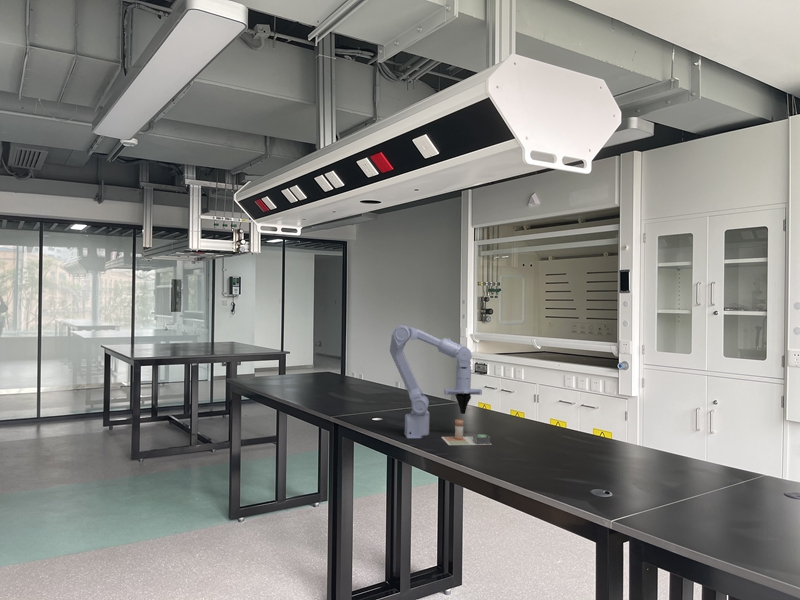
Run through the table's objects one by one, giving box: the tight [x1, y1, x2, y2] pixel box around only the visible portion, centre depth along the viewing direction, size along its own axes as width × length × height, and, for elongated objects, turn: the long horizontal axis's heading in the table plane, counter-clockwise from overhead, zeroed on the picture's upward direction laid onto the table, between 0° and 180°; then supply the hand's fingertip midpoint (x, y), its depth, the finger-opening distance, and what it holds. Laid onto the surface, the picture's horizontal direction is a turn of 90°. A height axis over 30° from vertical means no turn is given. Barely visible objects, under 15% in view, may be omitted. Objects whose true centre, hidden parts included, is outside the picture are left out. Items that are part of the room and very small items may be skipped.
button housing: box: [472, 434, 491, 444], centre depth 210 cm, size 5×5×2 cm
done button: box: [476, 433, 487, 437], centre depth 210 cm, size 3×3×2 cm
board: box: [441, 436, 493, 446], centre depth 213 cm, size 16×13×1 cm
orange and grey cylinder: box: [454, 418, 465, 440], centre depth 215 cm, size 3×3×7 cm
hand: (462, 413), depth 222 cm, fingers closed
